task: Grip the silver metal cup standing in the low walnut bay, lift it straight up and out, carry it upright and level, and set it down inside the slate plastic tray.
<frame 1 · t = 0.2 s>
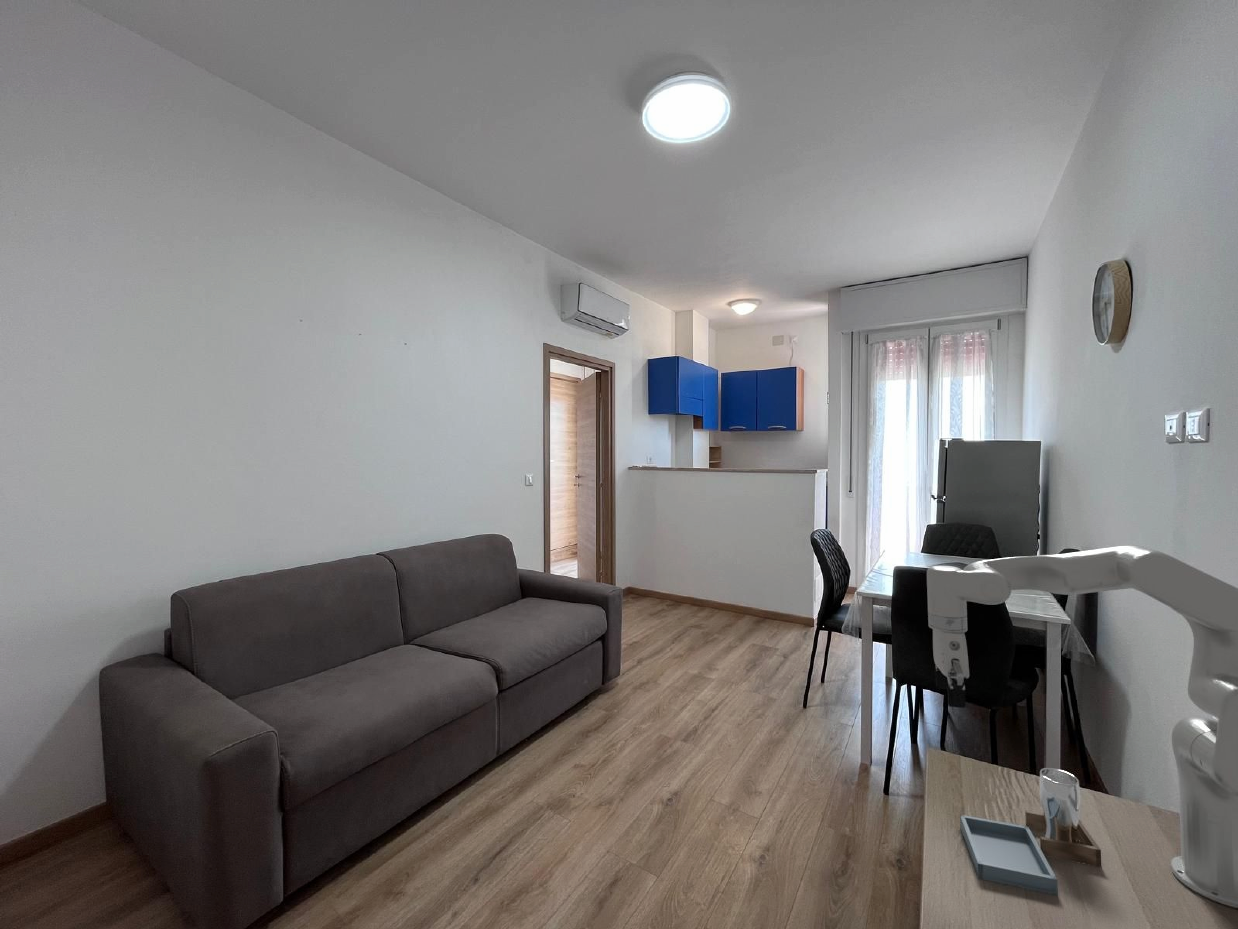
hand: (950, 697, 121), 31 cm above the table, fingers open, 9 cm apart
silver metal cup: (1061, 846, 116), on the table
walnut bay: (1061, 845, 116), on the table
slate tray: (1004, 858, 113), on the table
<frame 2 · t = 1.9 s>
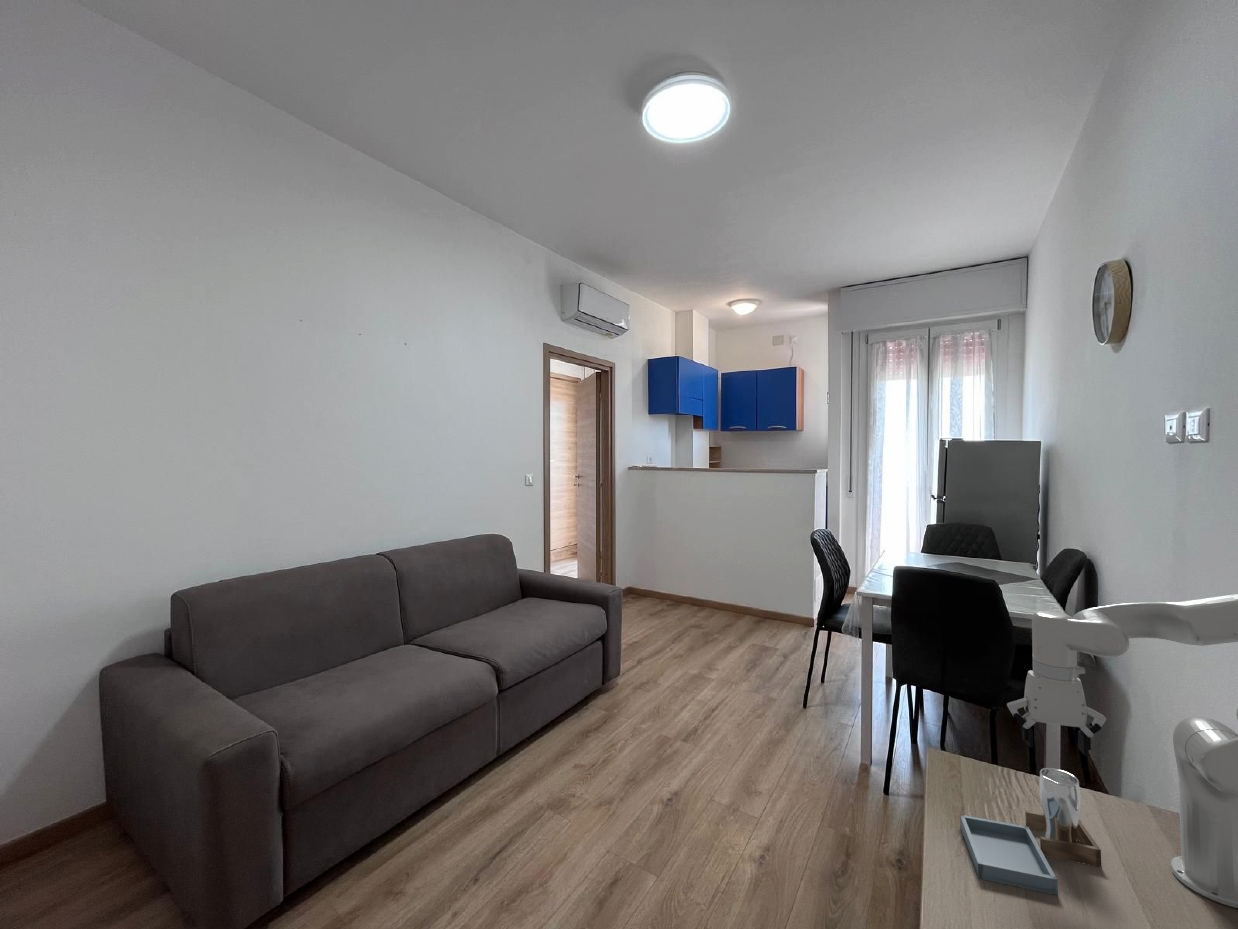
hand: (1055, 748, 116), 21 cm above the table, fingers open, 9 cm apart
nothing on the table moved.
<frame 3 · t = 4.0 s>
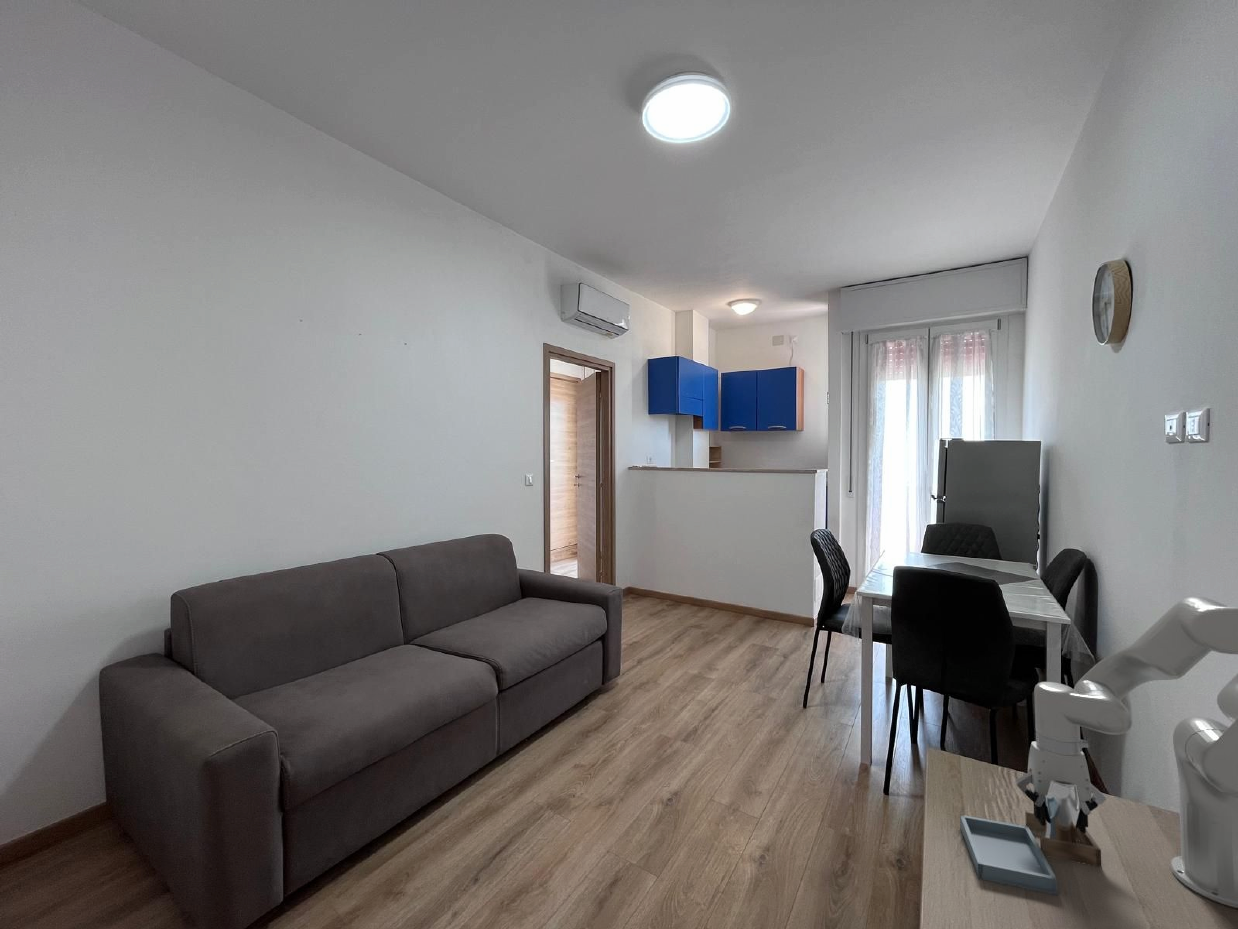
hand: (1060, 824, 116), 4 cm above the table, fingers closed on silver metal cup, 6 cm apart
silver metal cup: (1061, 846, 116), on the table, touching gripper
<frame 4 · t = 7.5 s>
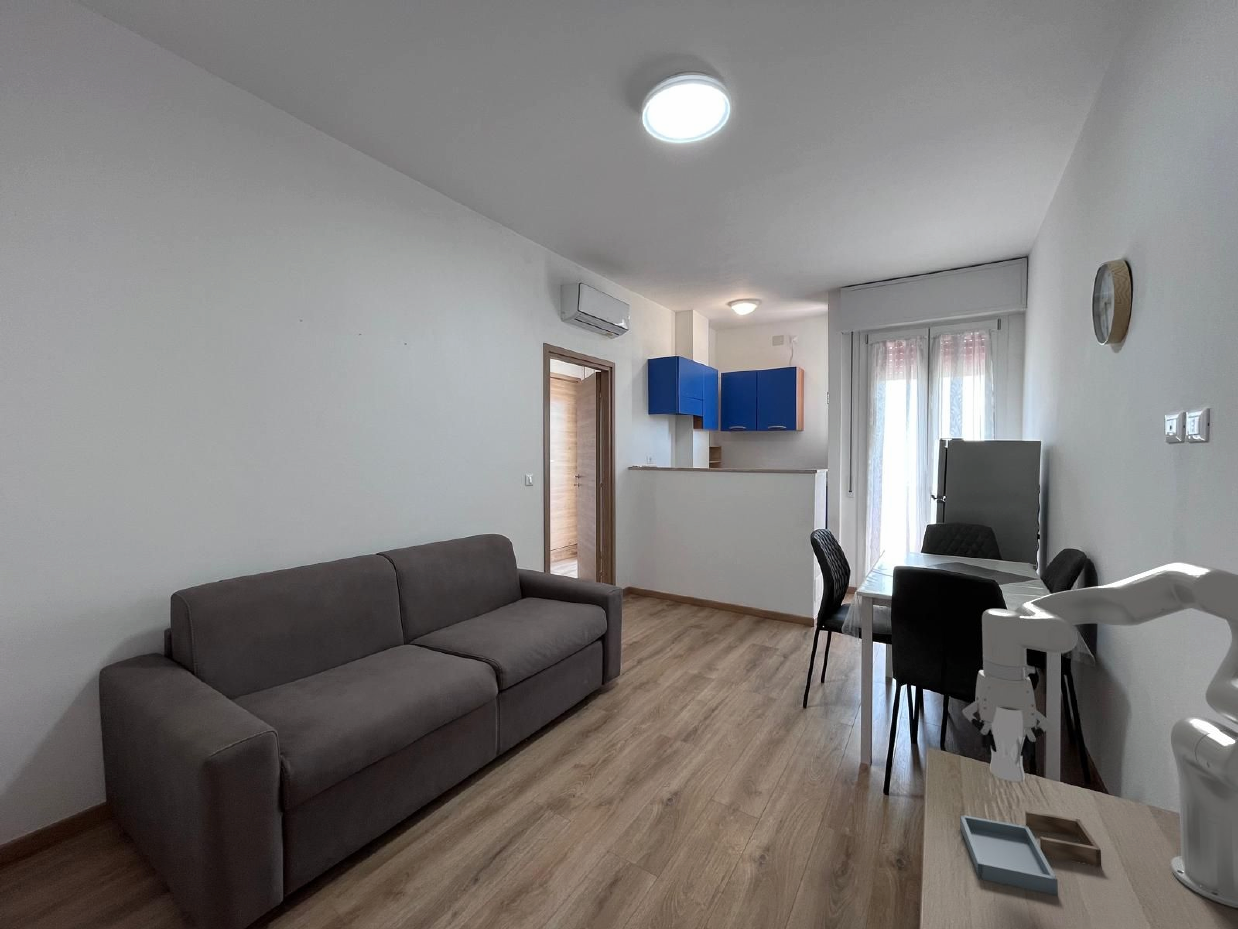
hand: (1006, 753, 113), 22 cm above the table, fingers closed on silver metal cup, 6 cm apart
silver metal cup: (1007, 775, 113), point 17 cm above the table, touching gripper
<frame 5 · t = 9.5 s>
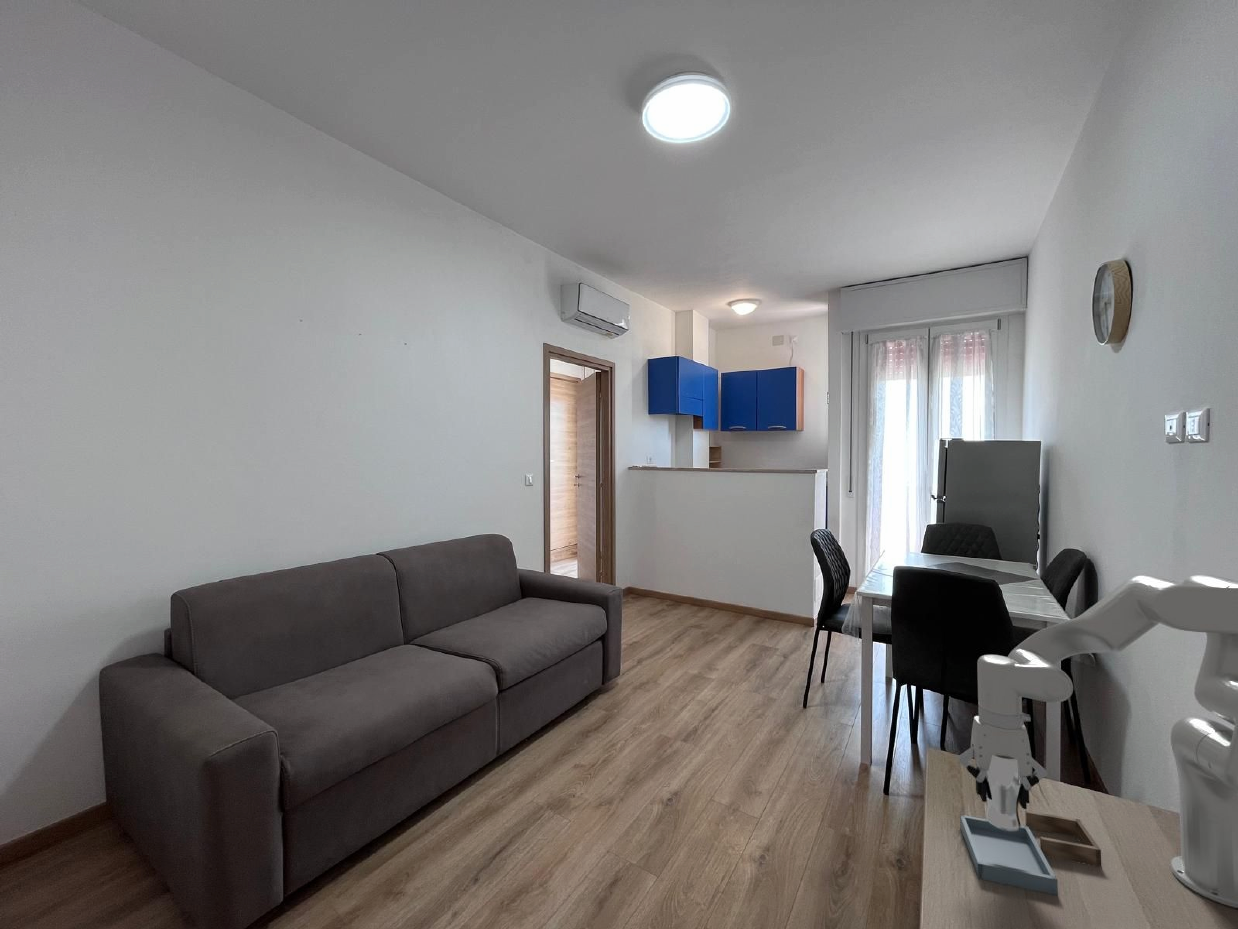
hand: (1002, 801, 113), 12 cm above the table, fingers closed on silver metal cup, 6 cm apart
silver metal cup: (1002, 823, 113), point 7 cm above the table, touching gripper
when the fingers open (7 cm above the table, at t = 11.0 s): silver metal cup drops 1 cm, resting on slate tray.
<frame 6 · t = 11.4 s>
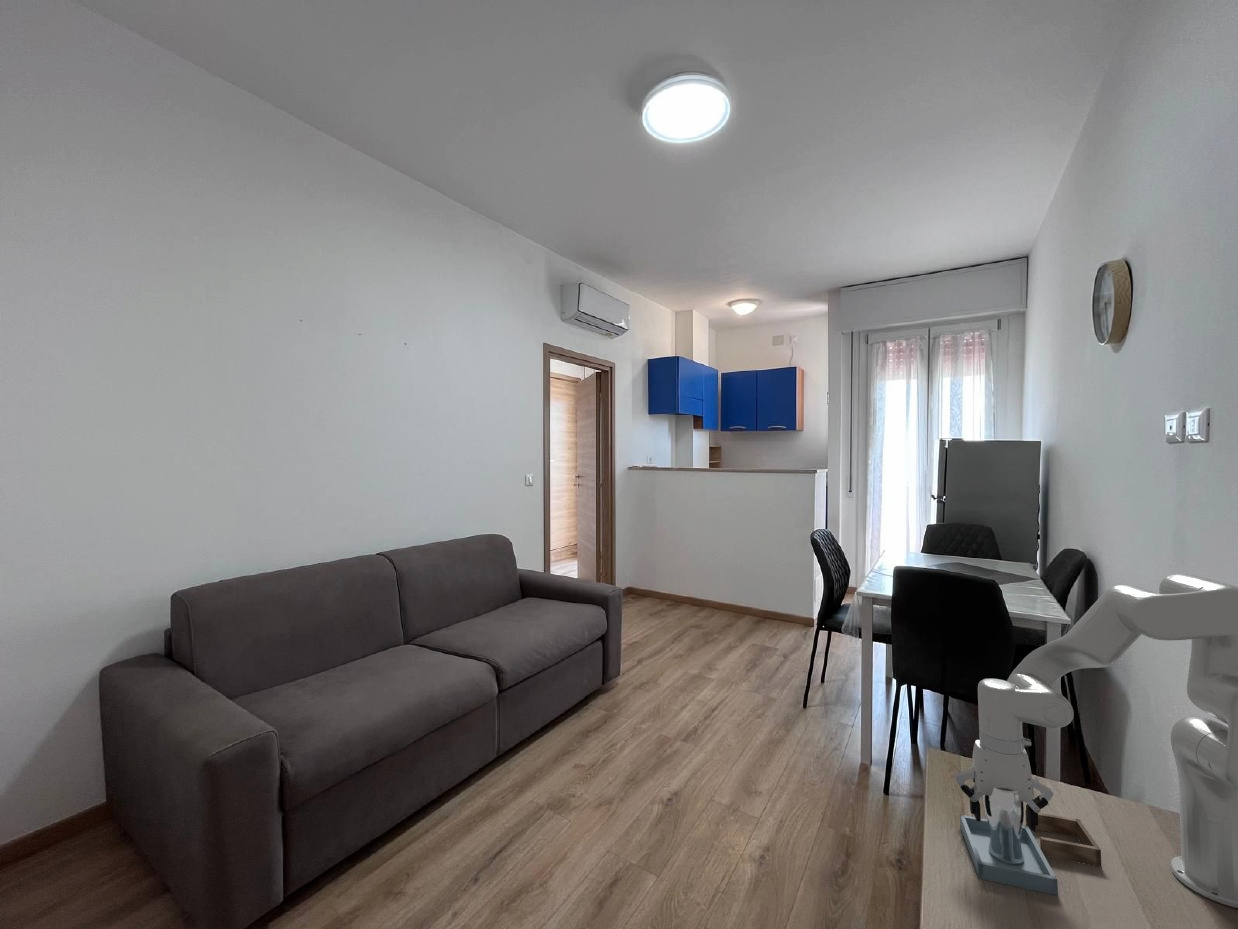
hand: (1003, 822, 113), 8 cm above the table, fingers open, 9 cm apart
silver metal cup: (1006, 855, 113), point 1 cm above the table, touching slate tray
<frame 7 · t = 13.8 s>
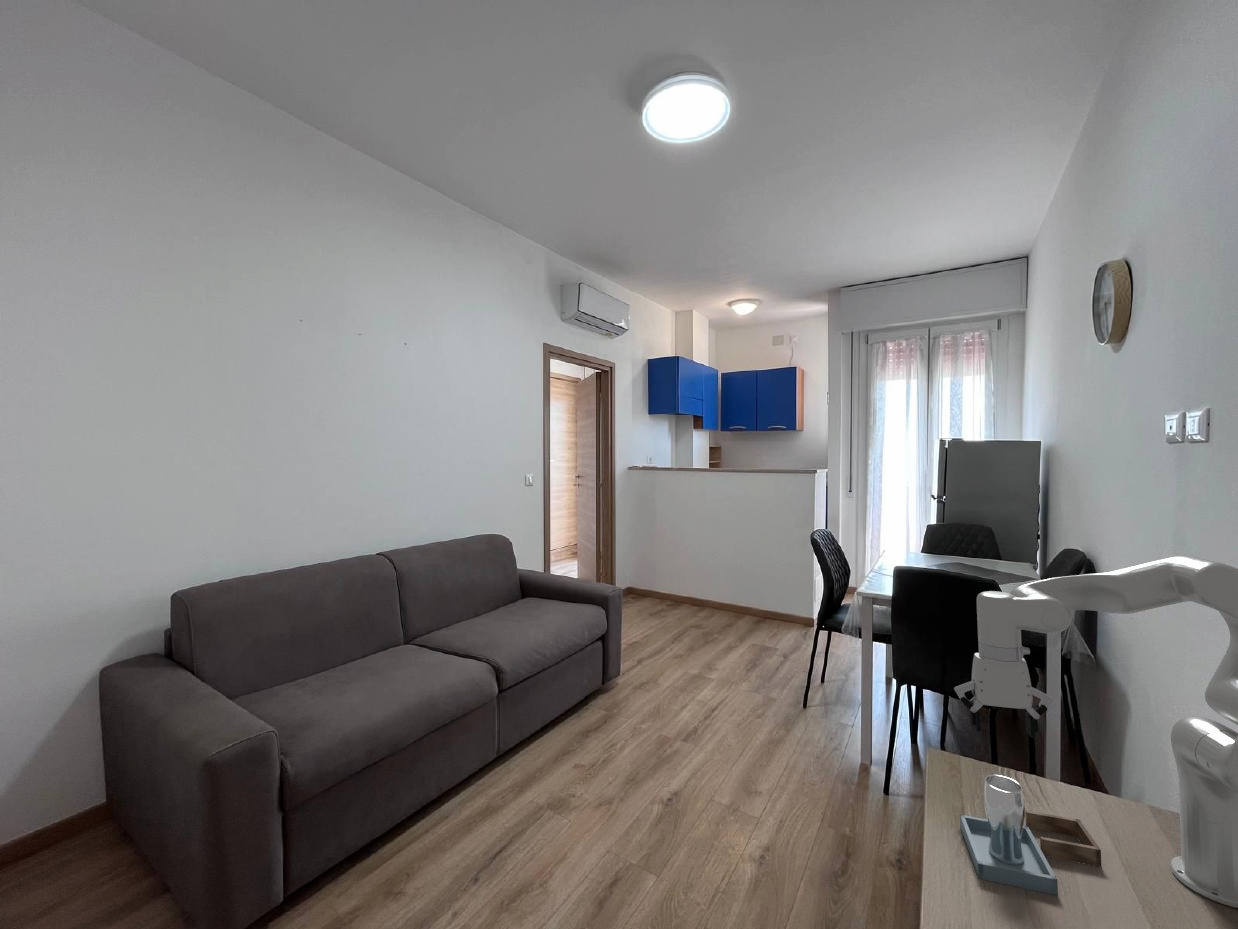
hand: (1003, 731, 113), 26 cm above the table, fingers open, 9 cm apart
nothing on the table moved.
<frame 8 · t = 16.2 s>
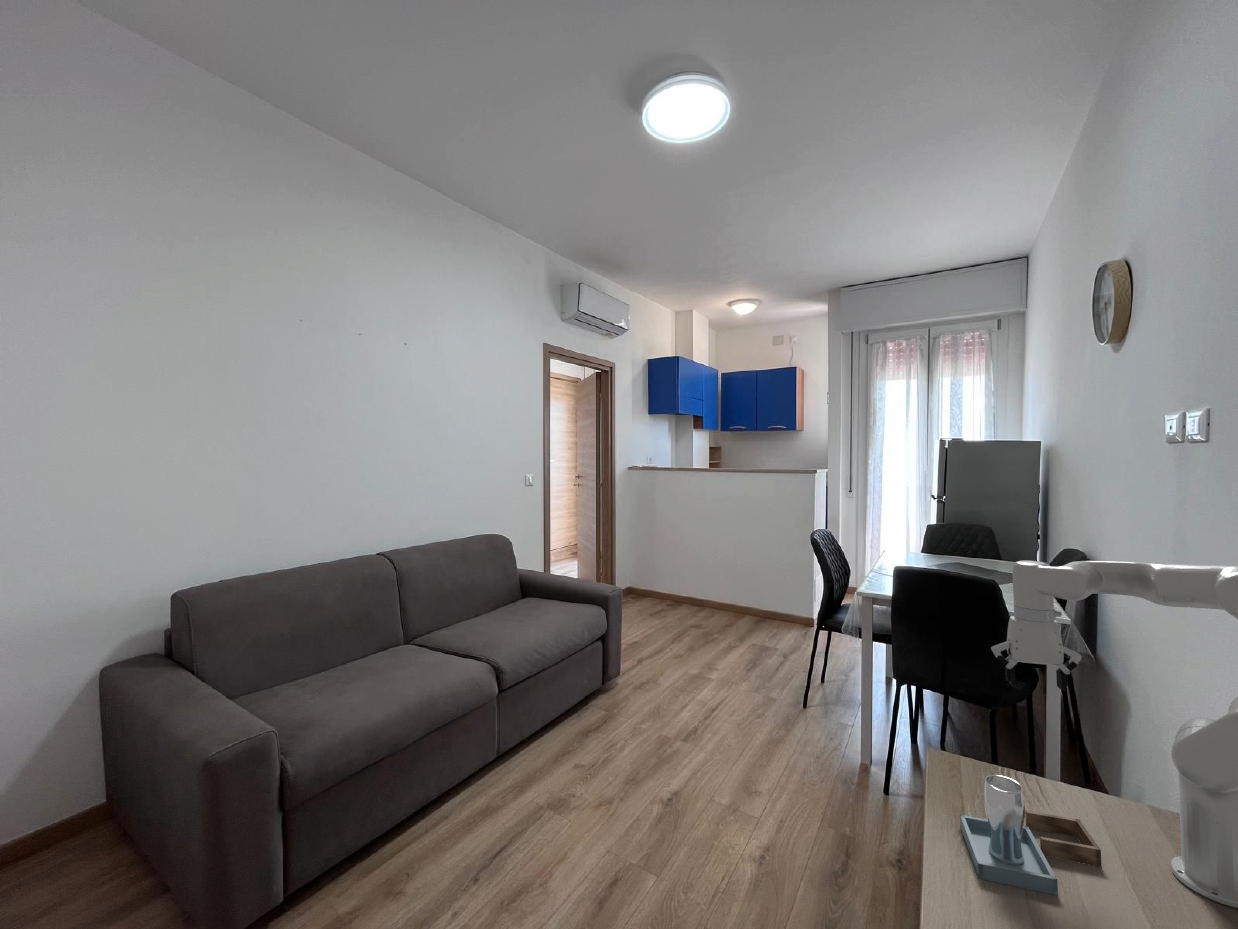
hand: (1036, 686, 126), 30 cm above the table, fingers open, 9 cm apart
nothing on the table moved.
at the end: silver metal cup inside the target area on the slate tray (0.3 cm from its centre), point 0.6 cm above the slate tray's base; silver metal cup tilted 0°; the gripper is holding nothing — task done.
